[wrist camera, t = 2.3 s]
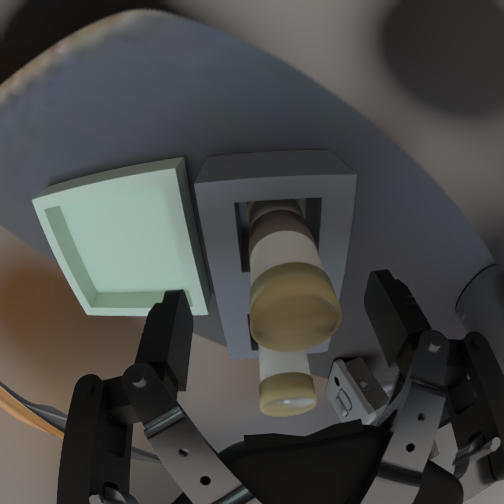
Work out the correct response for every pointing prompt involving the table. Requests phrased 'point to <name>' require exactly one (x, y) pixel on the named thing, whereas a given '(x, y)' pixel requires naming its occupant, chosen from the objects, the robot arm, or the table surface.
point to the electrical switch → (355, 391)
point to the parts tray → (126, 238)
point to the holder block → (237, 229)
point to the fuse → (285, 383)
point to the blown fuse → (287, 280)
